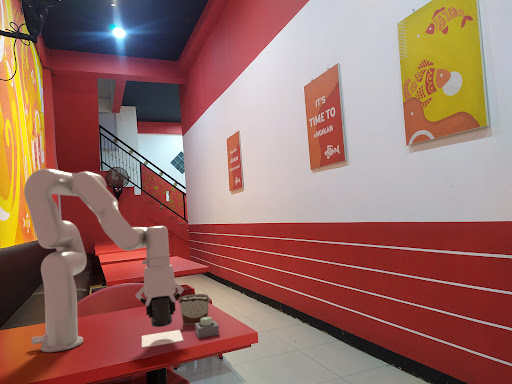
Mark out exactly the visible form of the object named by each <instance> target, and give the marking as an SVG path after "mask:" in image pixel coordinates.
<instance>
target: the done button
mask: <svg viewBox="0 0 512 384" xmlns="http://www.w3.org/2000/svg"><path fill="white" fill-rule="evenodd" d="M200 321H201V327H206V326H212V321H213V317H212V316H208V317H203V318H201V319H200Z"/></svg>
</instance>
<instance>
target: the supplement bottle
mask: <svg viewBox="0 0 512 384" xmlns="http://www.w3.org/2000/svg"><path fill="white" fill-rule="evenodd" d="M150 306H151V318H150V323H151V327H153V328H161V327H162V328H163V327H166V326H169V325H171V324H172V322H173V315H172V314H171V299H170V297H169V296H164V297H156V298H152V299H151V301H150Z"/></svg>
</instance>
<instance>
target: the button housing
mask: <svg viewBox="0 0 512 384" xmlns="http://www.w3.org/2000/svg"><path fill="white" fill-rule="evenodd" d="M194 327H195V331H194V332H195V334H196V336H197V338H198V339H200V338H201V339H202V338H207V337H212V336H218V335H220V329H219V328H220V325H219V324H218V323H217V322H216V320H215V319H214V320H213V319H212V326H206V327H201V322H200V323H195V324H194Z"/></svg>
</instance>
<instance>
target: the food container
mask: <svg viewBox="0 0 512 384" xmlns="http://www.w3.org/2000/svg"><path fill="white" fill-rule="evenodd" d="M210 302H211V299H210V295H208V294H204V293H195V294H193V293H192V294H187V295H183V296H179V298H178V304H179V305H180V313H181V320H182V325H187V326H188V325H195V323H200V322H201V321H200V319H201V318H203V317H209V303H210Z"/></svg>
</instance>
